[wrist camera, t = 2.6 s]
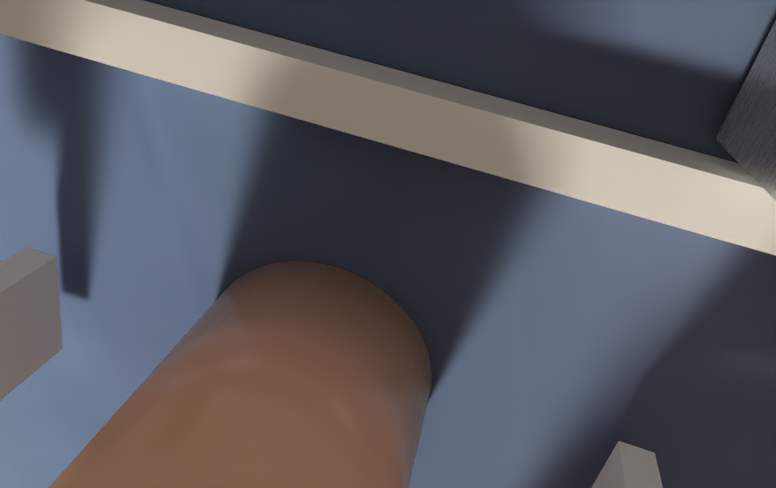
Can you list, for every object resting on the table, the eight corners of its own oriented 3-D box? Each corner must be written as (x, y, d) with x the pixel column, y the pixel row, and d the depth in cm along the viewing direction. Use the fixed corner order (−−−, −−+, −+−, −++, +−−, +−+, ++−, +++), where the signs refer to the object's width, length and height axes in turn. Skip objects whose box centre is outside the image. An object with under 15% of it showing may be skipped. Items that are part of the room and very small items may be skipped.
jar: (202, 410, 16) (-5, 700, 10) (218, 230, 13) (-52, 473, 7) (401, 477, 15) (316, 826, 9) (460, 304, 13) (394, 635, 7)
